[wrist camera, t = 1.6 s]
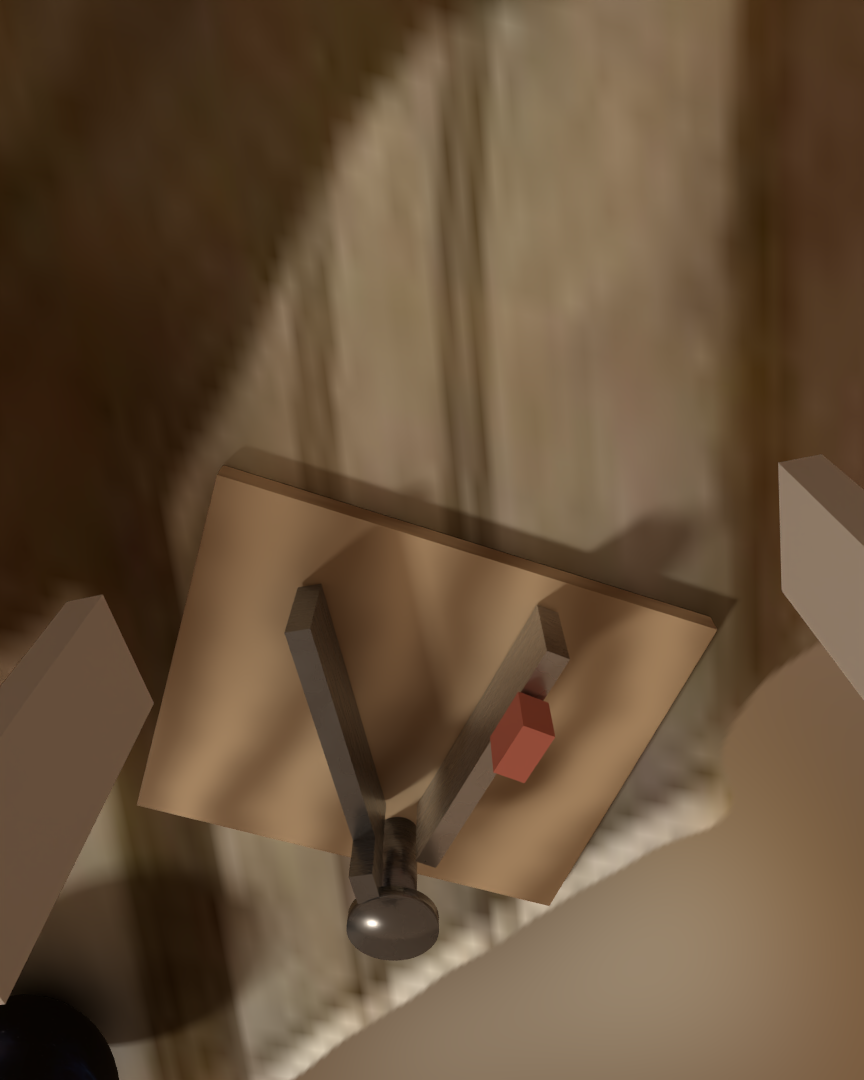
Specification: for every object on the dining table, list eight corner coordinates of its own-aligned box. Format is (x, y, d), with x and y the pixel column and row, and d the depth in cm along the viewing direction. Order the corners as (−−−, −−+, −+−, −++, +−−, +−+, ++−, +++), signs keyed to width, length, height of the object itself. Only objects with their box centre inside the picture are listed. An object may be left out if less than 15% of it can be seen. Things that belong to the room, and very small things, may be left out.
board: (143, 789, 48) (136, 805, 47) (223, 465, 38) (216, 474, 37) (546, 889, 52) (549, 905, 51) (710, 616, 42) (717, 629, 41)
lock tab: (519, 747, 39) (524, 783, 37) (490, 736, 39) (493, 772, 37) (548, 702, 38) (555, 737, 36) (518, 691, 38) (523, 725, 36)
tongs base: (410, 851, 49) (407, 931, 44) (371, 838, 48) (364, 918, 43) (557, 611, 41) (574, 676, 36) (512, 593, 40) (523, 657, 35)
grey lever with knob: (444, 857, 48) (446, 954, 43) (367, 867, 49) (358, 965, 43) (371, 575, 40) (361, 651, 34) (277, 590, 40) (251, 668, 34)
